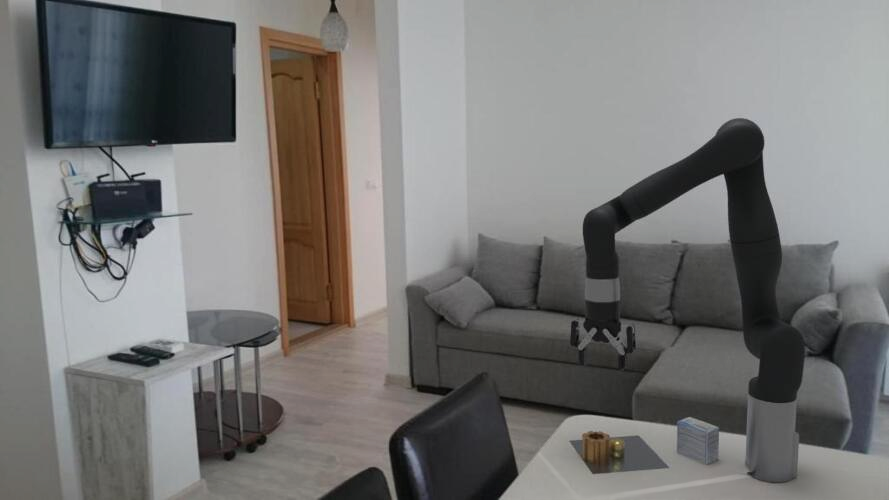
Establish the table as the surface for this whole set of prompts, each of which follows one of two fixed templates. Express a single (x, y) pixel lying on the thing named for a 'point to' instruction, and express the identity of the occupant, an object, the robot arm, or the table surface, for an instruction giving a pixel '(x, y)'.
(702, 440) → the medicine box
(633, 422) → the table surface
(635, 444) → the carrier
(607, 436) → the planet gear
